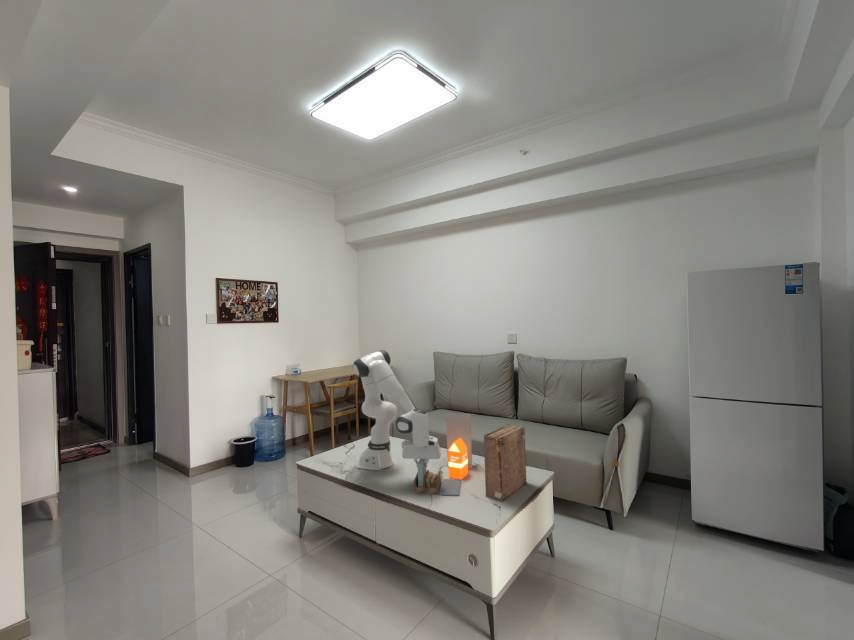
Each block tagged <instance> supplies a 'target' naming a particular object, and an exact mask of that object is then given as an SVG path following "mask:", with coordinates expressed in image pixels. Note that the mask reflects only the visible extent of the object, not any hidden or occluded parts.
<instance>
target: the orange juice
mask: <svg viewBox="0 0 854 640" xmlns="http://www.w3.org/2000/svg"><path fill="white" fill-rule="evenodd" d="M448 460H449V462H448ZM448 463H449V468H448V478H451V477H452V478H451V479H457V480H463V479H465V477H466V476H467V475H468V474H469V468H468V458H467V447H466V446H465V444H464V442H463V441H462V439H461V438H459V439H458V440H456V441H455V442H454V443H453V444H452V446H451V447H450V449H449V450H448V456H447V464H448Z"/></svg>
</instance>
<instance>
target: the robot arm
mask: <svg viewBox="0 0 854 640" xmlns="http://www.w3.org/2000/svg"><path fill="white" fill-rule="evenodd" d="M391 361H392V360H391V356H390V354H389V353H388V352H387V351H386V350H383V349H381V350H378V351H375V352H371V353H368V354H367V355H365V356H363V357H360V358H358V359H355V361H353V363H352V364H353V365H352V368H353V369H352V370H353V372H354V373H355V375H356V376H357V377H359V378H360V380H361V383H362V386H363V387H362V388H363V391H364V396H365V397H364V398H365V399H364V401H363V403H362V405H361V411H362V413H363V415H365V416H367V417H368V418H372V419H375V424H374V425H373V426H372V427H371V428H370V440H368V441H369V442H368V443H367V448H366V449H365V450H363V451H362V453H361V454H360V455H359V460H357V462H356V463H355V468H356V469H362V470H371V471H380V470H383V469H387V468H389V467H391V466H393V465H394V462H393V459H392V454H391V448H392V447H391V440H390V428H391V423H392V421H393V420H394V419H395V418H396V417H397V414H398V408H397V406H396V405H395V404H394V403H392V402H390V401H386V400H382V399H381V394H383V395H384V396H387V397H393V398H395V399H396V400H397V401H399V404H400V405H401V407H402V408H403V410H404V412H405V413H403V414H402V415H400V416H398V417H397V418H396V420H395V428H396V430H397V431H398V432H399V433H400V434H412V439H408V440H407V439H405V440H403V441H402V442H401V448H402V453H401V457H402V458H403V459H404V460H405V459H407V460H408V459H413V460H414V461H413V462H415V465H416V467H417V468H418V462H419V460H420V459H426V463H424V467H426V468H427V467H428V463H429V461H430V460H439V459H441V457H442V451H441V447H440V444H439V439H438V437H435V436H432V435H430V433H429V426H430V422H429V415H428V412H427V411H426V409H424V408H417V406H416V405H415V403H414V402H413V400H412V399H411V397H410V395H409V394H408V392H407V391H406V389H405V387H404V386H403V385H401V383H400V382H399V380H398V378H397V377H396V375H395V373H394V371H393V370H392V367H390V364H391ZM418 459H419V460H418Z"/></svg>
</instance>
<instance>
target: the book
mask: <svg viewBox="0 0 854 640" xmlns="http://www.w3.org/2000/svg"><path fill="white" fill-rule="evenodd" d="M525 432H526V431H525V426H515V425H512V424H511V425H510V423H507V424H505V425H503V426H501V427H498V428H497V429H494V430H492V431H491V432H487V433H486V434H484V435H483V451H484V452H483V453H484V456H483V457H484V479H485V480H484V481H485V483H484V484H485V496H486V497H488V498H490V499H491V498H492V499H495V500H497V501H500V502H503V501H505V500H506V499H508V498H509V497H511V496H512V495H513V494H515V492H517V491H518V490H519V489H521V488H522V487H523V486H525V485H526V484H527V463H526V462H527V458H526V455H527V454H526V433H525Z"/></svg>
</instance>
